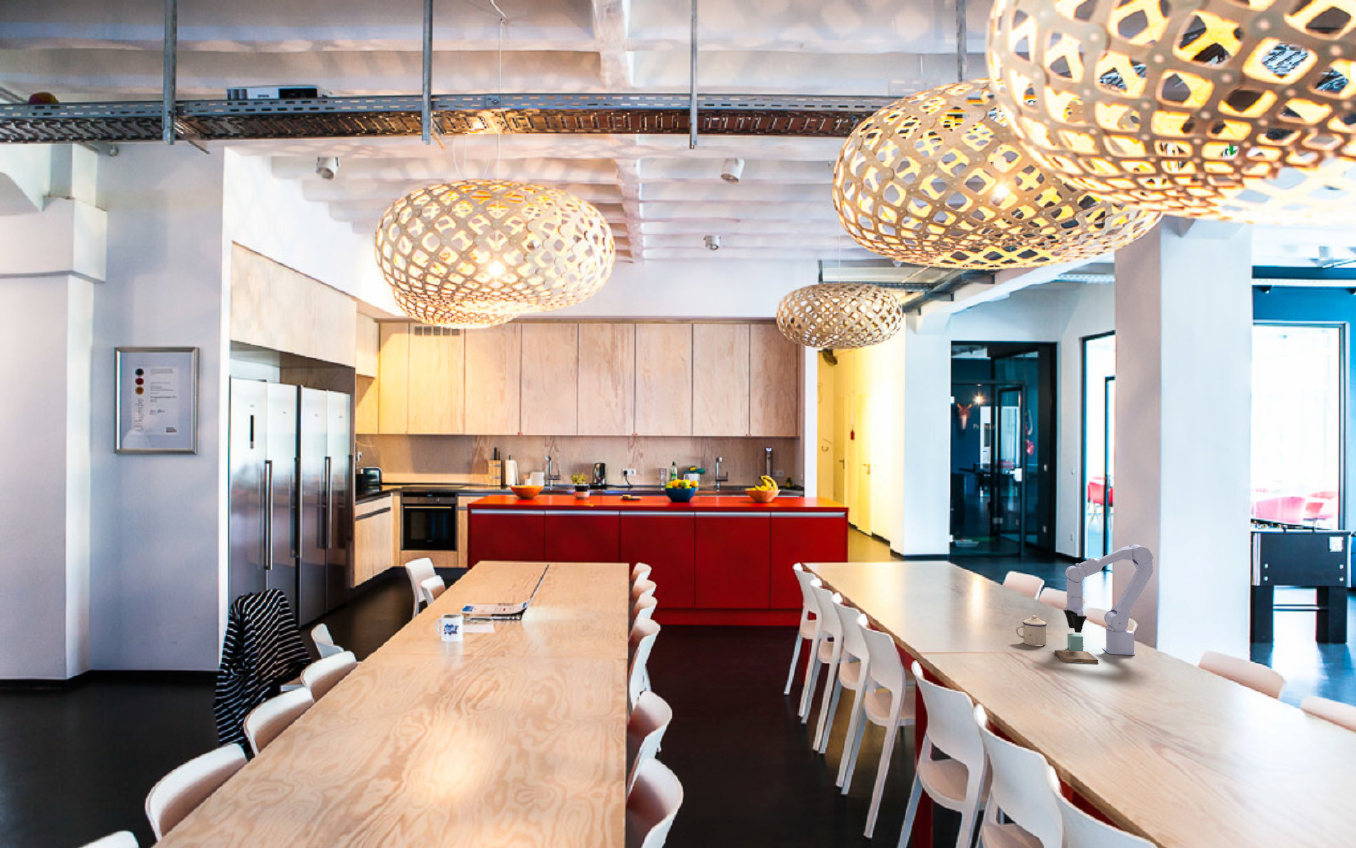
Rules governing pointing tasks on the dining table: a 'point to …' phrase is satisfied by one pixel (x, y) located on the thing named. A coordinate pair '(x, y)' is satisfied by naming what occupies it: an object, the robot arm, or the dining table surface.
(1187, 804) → the dining table surface
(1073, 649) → the teal block
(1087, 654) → the walnut slab
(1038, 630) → the teacup with lid
